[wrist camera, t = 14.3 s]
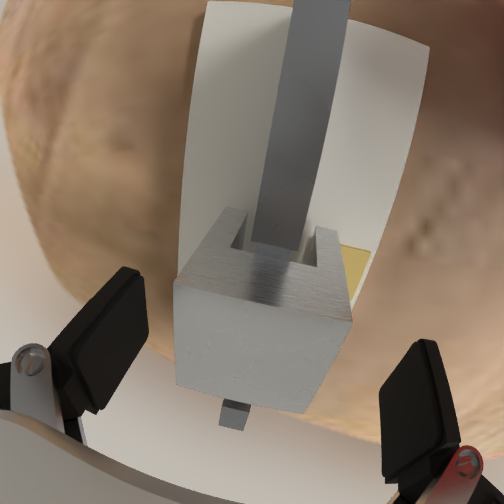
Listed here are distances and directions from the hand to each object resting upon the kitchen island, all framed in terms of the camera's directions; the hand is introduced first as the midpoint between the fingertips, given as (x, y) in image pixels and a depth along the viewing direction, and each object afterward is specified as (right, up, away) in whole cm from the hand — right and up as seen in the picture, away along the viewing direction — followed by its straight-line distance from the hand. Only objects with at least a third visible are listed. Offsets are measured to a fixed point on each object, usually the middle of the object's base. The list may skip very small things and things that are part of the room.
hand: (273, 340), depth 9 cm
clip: (0, +2, +5) cm, 5 cm away
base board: (+1, +6, +5) cm, 8 cm away
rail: (+1, +6, +5) cm, 8 cm away
